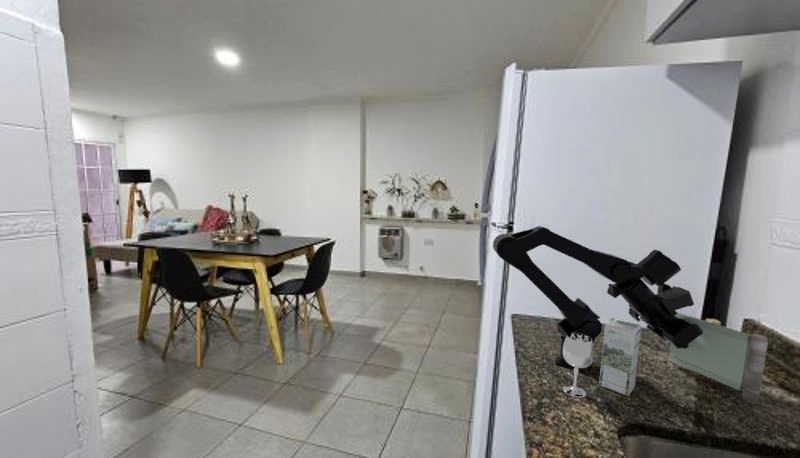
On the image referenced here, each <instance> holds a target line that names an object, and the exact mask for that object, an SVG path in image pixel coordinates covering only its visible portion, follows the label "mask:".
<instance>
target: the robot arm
mask: <svg viewBox="0 0 800 458" xmlns="http://www.w3.org/2000/svg"><path fill="white" fill-rule="evenodd" d="M542 245H544V246H546V247H548V248H549V249H550V248H551V249H552V250H555V251H556V252H558V253H561V254H562V255H563V254H564V255H566V256H567V257H569V258H572V259H574V260H577V262H578V261H579V262H580V263H583V264H584V265H586V267H588V268H590V269H591V270H592V271H594V272H595V273H596V274H598V275H599V276H602V277H603V278H605V279H607V280H609V281H611V282H612V283H608V288H607V291H606V294H607V295H609V296H611V297H612V298H613V299H614V298H615V299H616V298H619V296H621V297H622V298H623V299H624V300H625V301H626V303H627V304H628V307H629V309H628V314H629V315H630V317H631V318H632V319H634V320H635V321H636V322H641V321H642V322H644V323H645V324H646V329H648V330H649V331H651V332H652V333H654V334H656V335H657V336H658V337H660V338H661V339H663V340H665V341H667V342H668V343H670V345H671V344H672V345H674V346H675V347H676V348H678V349H679V348H684V349H686V348H687V347H688V344H689V343H690V342H692V341H693V340H694V339H696V338H697V337H699V336H700V335H701V334H703V330H702V329H701V328H700V327H699V326H698V325H697V324H696V323H694V322H692V321H690V320H688V319H685V318H680V319H679V318H677V317H675V315H676V314H677V313H678V311H677V310H682V309H684V308H687V307H693V306H694V305H695V303H694V300H693V297H692V294H691V291H690V290H687V289H685V288H682V287H680V286H671V285H670V284H666V282H668V281H669V280H670V279H672V278H673V277H675V275H677V274H678V273H680V272H681V271H682V268H681V267H680V265H679V264H678V263H677V262H676V261H675V260H673V259H671V258H670V257H668V256H667V255H665V254H664V253H663V252H662V251H661V250H658V249H652V251H650V252H649V254H648V255H647V256H645V257H644V258H643V259H641V260H640V261H639V262H638V263H634V262H632V261H628V260H627V259H624V258H622V257H619V256H617V255H615V254H614V255H613V254H610V253H607V252H603V251H599V250H594V249H591V248H588V247H586V246H583V245H582V244H579V243H577V242H575V241H573V240H571V239H569V238H566V237H564V236H562V235H560V234H558V233H555V232H553V231H552V230H550V229H549V228H547V227H545V226H540V225H537V226H535V227H533V228H529V229H525V230H522V231H518V232H515V233H512V234H509V233H500V234H499V235H497V236H495V238H494V240H493V242H492V249H493V250H494V252H495V253H496V254H497V255H498V257H499V258H500V259H501V260H503V261H504V262H506V263H507V264H509V265H510V266H512V268H515V269H516V270H518V271H519V272H521V273H522V274H523V275H524V276H526V278H527V279H528V280H529V281H530V282H531V283H532V284H533V285H534V286H535V287H536V288H537V289H539V291H540V292H541V293H542V294H543V295H544V296H545V297H546V298H547V299H549V300H550V301H551V303H553V304H554V306H555V307H557V309H558V311H559V312H560V313H561V315H562V317H563V319H562V320H560V321H559V322H557V324H556V328H557V329H556V330H557V331H558V333H559V334H560V335H561V336H560V342H559V343H560V344H559V345H560V346H559V354H558V356H557V357H556V359H555V360H554V364H556V365H558V366H561V367H565V368H567V369H571V370H574V368H575V367H573V366H571V365H570V364H568V363H567V362H566V361H565V359H564V357H563V345H564V342H565V339H566V336H567V334H569V333H579V334H583V335H586V336H588V337H590V338H591V339H592V343H593V344H594V342H595V340H596V338H597V337H599V336H600V335H601V333H602V328H603V325H602V322H601V321H600V320H599V319H600V318H601V316H600V315H598V314H597V313H596V312H595V311H593V310H592V309H591V308H590V306H589V305H588V304H586V302H584V301H583V300H582V299H580V298H579V297H577V298H576V299H575V301H574V300H572V299H571V298H570V297H569V296H568V295H567V294H566V293H565V292H564V291H563V290H562V289H561V288H560V287H559V286H558V285H557V284H556V283H555V282H554V281H553V280H552V279H550V277H549V276H548V275H547V274H546V273H544V272H543V271H542V270H541V268H540V267H539V266H538V265H536V264H535V262H534V261H533V259H531V257H530V255H529V254H528V252H530V251H532V250H534V249H536V248H538V247H539V246H542ZM647 284H648V285H649V286H651V287H652V286H654V285H655V286H657V293H656V294H655V293H654V292H653V290H652V289H651V288H650V287H649V286H648V285H647ZM586 368H587V367H586ZM586 368H578V369H579V372H582V373H585V370H586Z"/></svg>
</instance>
